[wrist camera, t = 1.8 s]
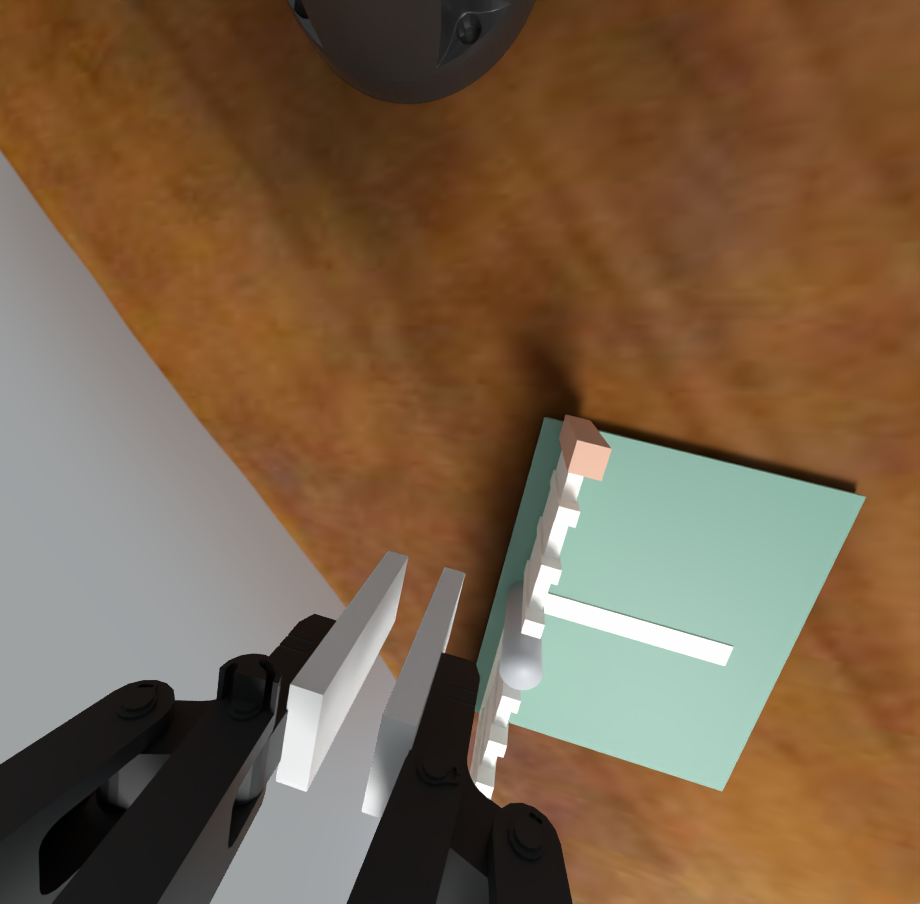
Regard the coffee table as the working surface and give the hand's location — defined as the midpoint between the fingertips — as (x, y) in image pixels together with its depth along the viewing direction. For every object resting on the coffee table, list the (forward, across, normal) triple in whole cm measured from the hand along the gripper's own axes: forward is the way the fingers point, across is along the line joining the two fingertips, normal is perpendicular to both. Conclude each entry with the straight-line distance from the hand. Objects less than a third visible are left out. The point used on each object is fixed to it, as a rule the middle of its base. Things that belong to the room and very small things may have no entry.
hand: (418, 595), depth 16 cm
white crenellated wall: (+15, +5, 0) cm, 16 cm away
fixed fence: (+16, +5, -13) cm, 22 cm away
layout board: (+16, +14, -7) cm, 22 cm away
